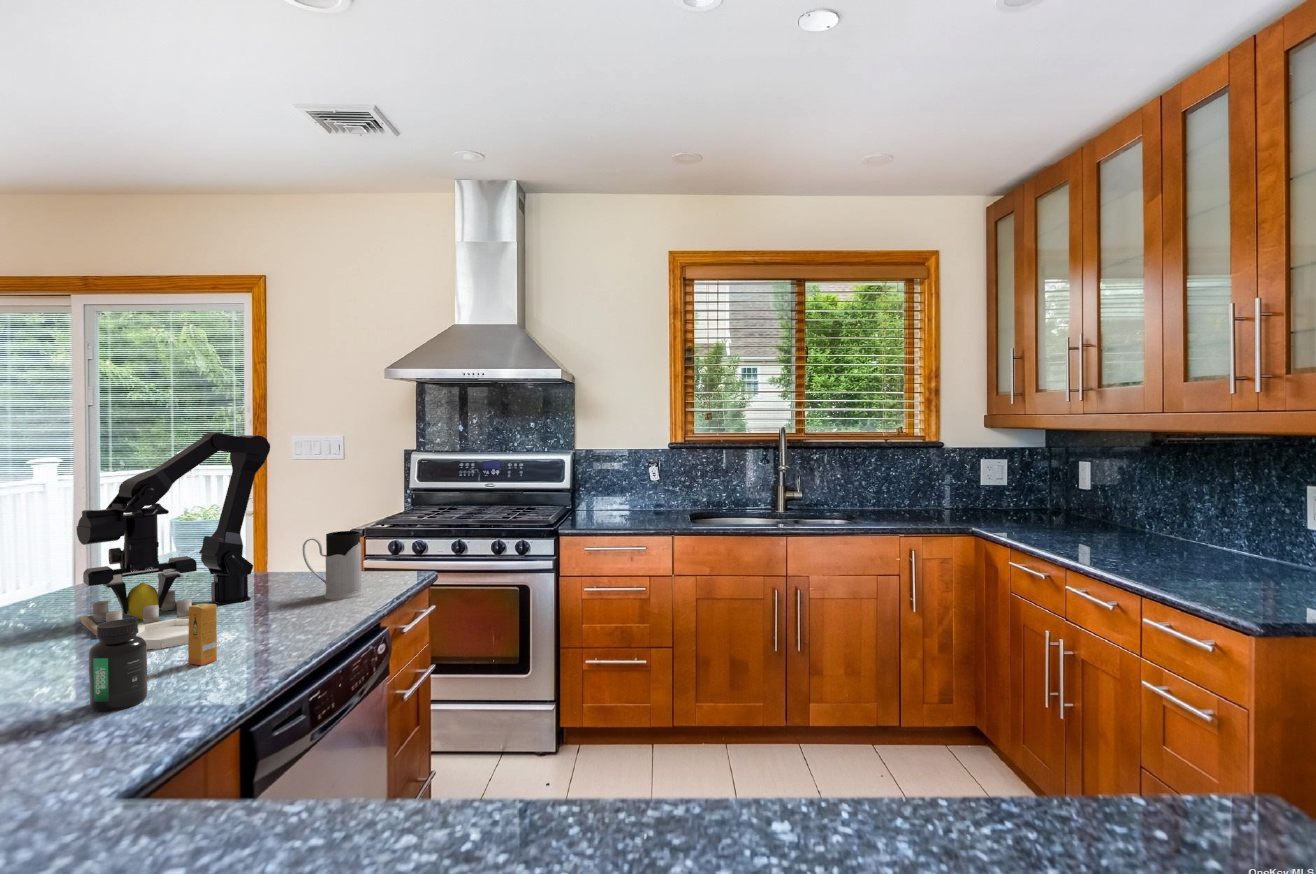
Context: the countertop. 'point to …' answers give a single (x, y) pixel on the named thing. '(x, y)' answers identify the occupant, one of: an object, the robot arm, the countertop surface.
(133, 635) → the supplement bottle
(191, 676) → the countertop surface
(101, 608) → the spacer field
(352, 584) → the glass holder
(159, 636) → the dish
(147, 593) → the lemon
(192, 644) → the supplement box
